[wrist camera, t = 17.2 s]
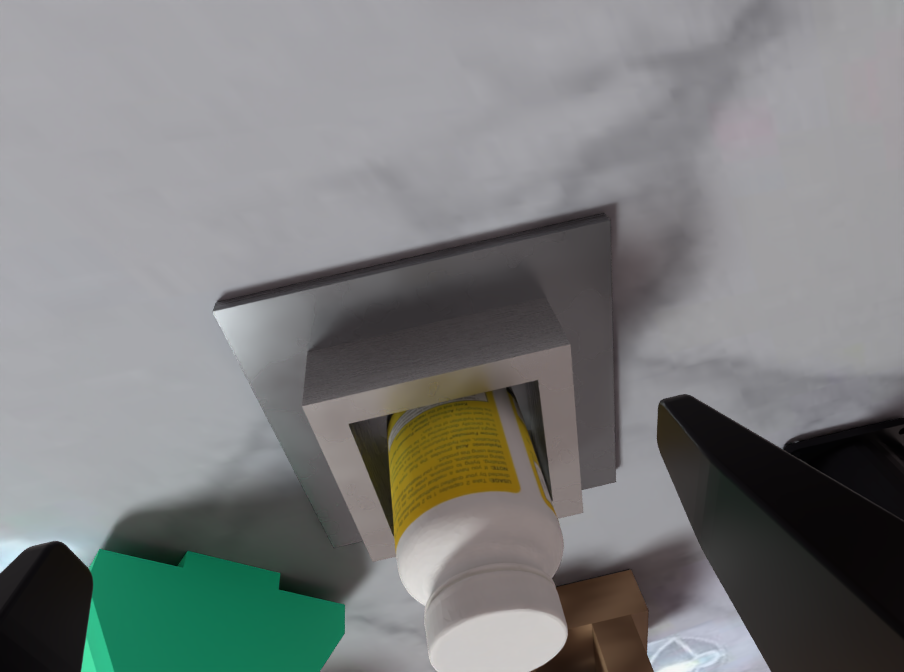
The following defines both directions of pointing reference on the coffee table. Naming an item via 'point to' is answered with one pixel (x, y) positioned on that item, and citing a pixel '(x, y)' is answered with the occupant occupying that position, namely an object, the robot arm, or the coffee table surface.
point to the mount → (603, 626)
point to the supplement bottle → (476, 534)
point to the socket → (436, 363)
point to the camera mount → (203, 618)
